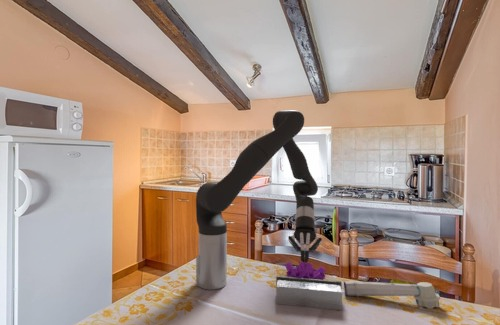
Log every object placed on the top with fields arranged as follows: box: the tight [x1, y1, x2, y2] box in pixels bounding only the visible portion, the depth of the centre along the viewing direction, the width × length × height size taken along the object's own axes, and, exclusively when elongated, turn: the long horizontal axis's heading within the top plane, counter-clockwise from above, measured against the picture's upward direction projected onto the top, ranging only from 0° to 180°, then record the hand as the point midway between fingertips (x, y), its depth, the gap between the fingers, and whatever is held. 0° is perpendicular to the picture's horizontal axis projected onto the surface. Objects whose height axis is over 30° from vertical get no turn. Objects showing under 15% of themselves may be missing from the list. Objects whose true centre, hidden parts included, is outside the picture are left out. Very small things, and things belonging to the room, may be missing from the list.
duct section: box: [275, 275, 343, 311], centre depth 82 cm, size 19×6×6 cm, turn 79°
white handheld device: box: [343, 279, 441, 310], centre depth 83 cm, size 5×7×25 cm
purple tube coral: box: [284, 261, 327, 280], centre depth 93 cm, size 11×15×10 cm
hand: (304, 262), depth 100 cm, fingers closed
